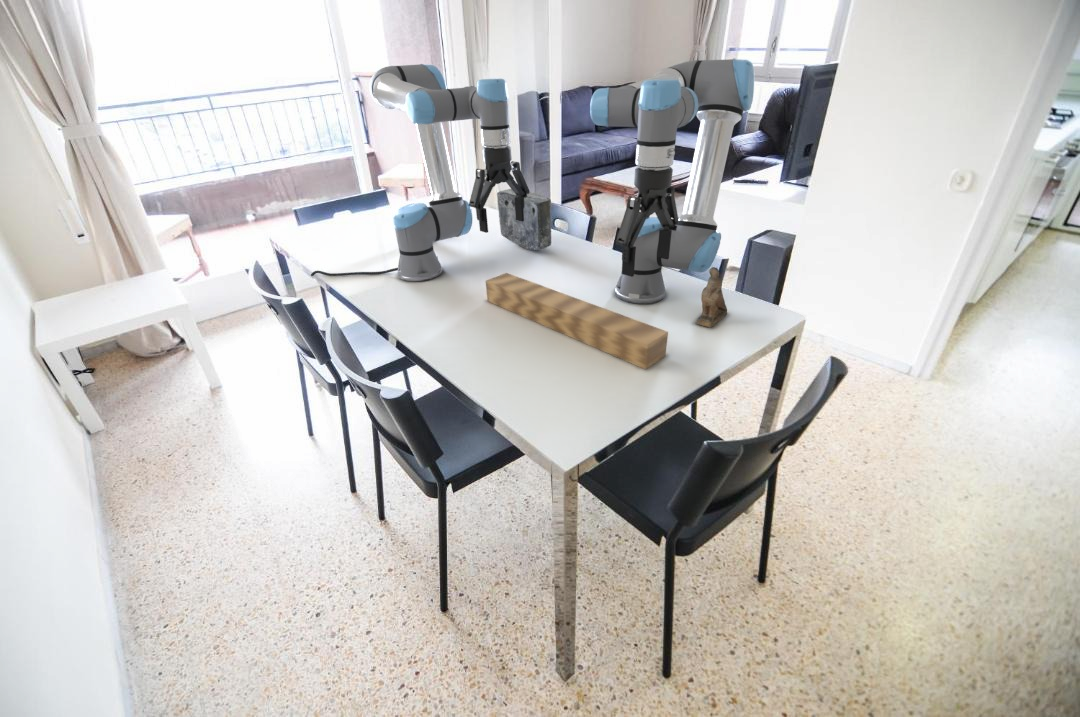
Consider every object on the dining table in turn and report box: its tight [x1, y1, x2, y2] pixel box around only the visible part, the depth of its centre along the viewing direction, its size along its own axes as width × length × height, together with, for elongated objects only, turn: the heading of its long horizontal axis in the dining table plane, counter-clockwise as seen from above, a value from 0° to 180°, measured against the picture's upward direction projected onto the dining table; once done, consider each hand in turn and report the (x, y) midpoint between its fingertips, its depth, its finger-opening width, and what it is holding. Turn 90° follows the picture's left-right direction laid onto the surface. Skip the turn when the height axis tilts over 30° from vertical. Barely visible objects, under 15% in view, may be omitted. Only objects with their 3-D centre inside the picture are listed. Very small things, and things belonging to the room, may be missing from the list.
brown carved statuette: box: [695, 266, 728, 328], centre depth 135 cm, size 12×6×18 cm, turn 136°
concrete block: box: [496, 188, 552, 251], centre depth 192 cm, size 27×9×20 cm, turn 36°
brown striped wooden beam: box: [485, 272, 669, 370], centre depth 137 cm, size 59×9×7 cm, turn 45°
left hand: (502, 226), depth 142 cm, fingers open, 13 cm apart
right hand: (645, 266), depth 112 cm, fingers open, 13 cm apart
